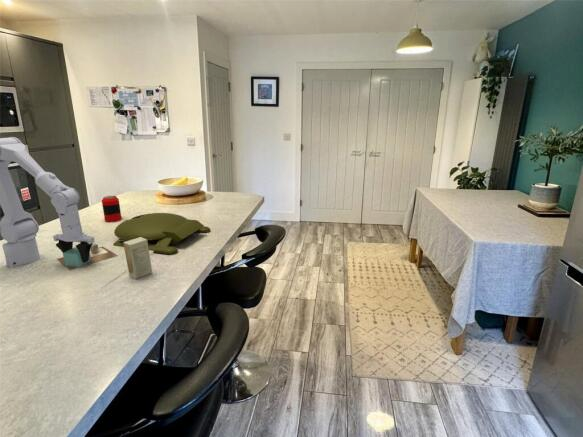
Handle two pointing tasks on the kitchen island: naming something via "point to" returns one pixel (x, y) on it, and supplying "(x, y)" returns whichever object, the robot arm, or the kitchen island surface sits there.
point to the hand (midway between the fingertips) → (78, 260)
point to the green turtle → (158, 230)
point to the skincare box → (137, 257)
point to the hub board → (93, 256)
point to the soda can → (111, 209)
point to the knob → (74, 258)
